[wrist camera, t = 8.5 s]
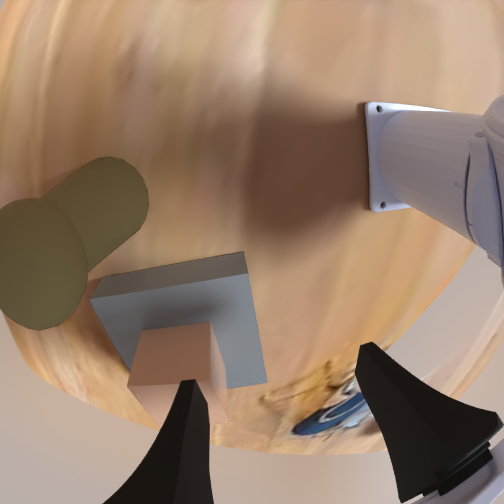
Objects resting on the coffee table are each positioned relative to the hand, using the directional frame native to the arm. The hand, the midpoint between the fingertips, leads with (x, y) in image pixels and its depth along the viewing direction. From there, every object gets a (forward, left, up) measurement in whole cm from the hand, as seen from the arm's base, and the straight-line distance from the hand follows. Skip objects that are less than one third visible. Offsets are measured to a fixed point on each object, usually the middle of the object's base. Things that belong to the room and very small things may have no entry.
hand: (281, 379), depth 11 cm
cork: (+9, -7, -10) cm, 15 cm away
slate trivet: (+6, +4, -10) cm, 12 cm away
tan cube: (+6, +4, -7) cm, 10 cm away
